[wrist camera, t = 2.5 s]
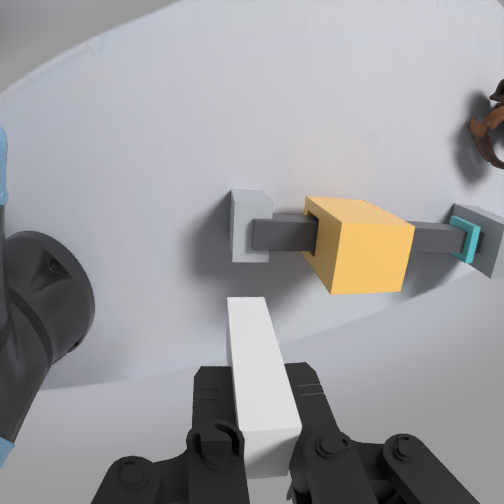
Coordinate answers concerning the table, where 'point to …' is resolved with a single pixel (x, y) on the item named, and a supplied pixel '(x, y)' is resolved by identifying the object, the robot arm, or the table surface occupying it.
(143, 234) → the table surface
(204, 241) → the table surface
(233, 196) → the slider rail
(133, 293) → the table surface
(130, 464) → the robot arm
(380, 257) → the sleeve
